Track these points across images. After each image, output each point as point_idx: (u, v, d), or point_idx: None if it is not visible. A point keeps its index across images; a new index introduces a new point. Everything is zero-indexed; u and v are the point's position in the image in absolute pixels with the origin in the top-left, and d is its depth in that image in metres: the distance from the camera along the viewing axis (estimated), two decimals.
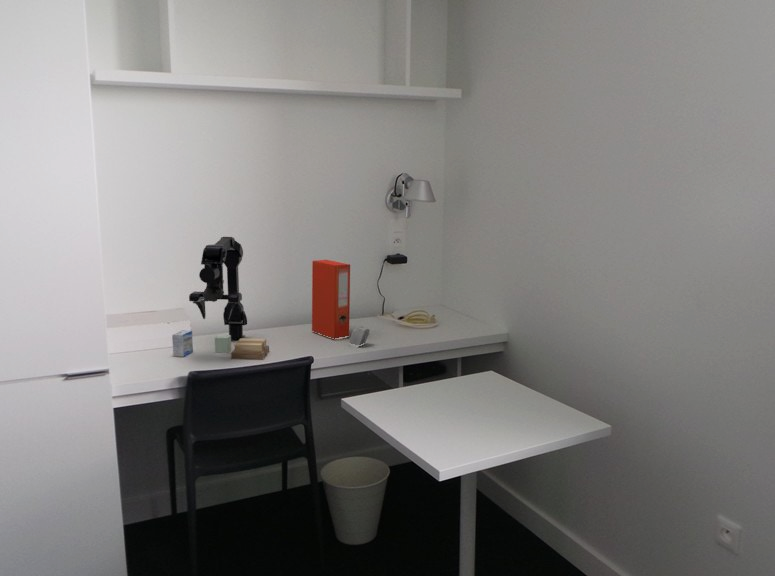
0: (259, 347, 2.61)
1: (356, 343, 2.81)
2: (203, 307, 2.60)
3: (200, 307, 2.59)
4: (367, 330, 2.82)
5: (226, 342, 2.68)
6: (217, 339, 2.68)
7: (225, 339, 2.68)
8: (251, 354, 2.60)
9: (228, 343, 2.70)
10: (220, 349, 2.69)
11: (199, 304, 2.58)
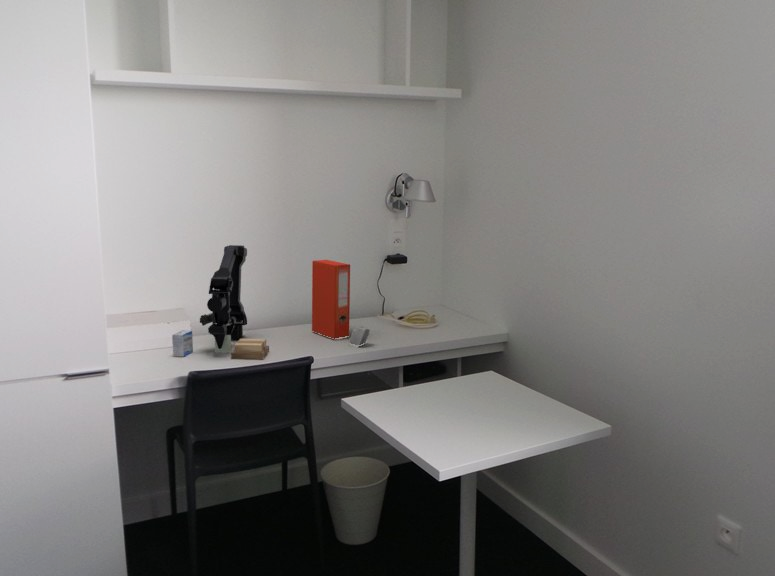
0: (259, 347, 2.60)
1: (356, 343, 2.81)
2: (226, 331, 2.75)
3: None
4: (367, 330, 2.82)
5: (226, 342, 2.68)
6: None
7: (225, 339, 2.68)
8: (251, 354, 2.60)
9: (228, 343, 2.70)
10: (220, 349, 2.69)
11: None
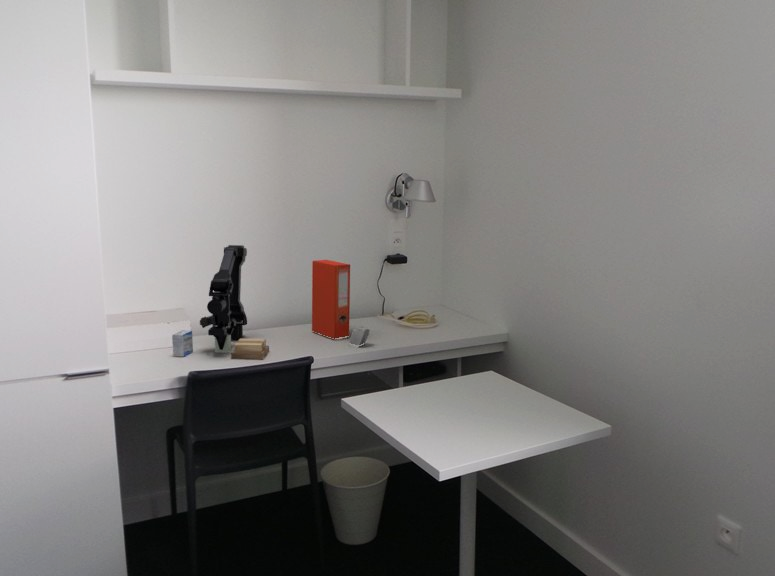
0: (259, 347, 2.61)
1: (356, 343, 2.81)
2: None
3: None
4: (367, 330, 2.82)
5: (226, 342, 2.68)
6: None
7: None
8: (251, 354, 2.60)
9: (228, 343, 2.70)
10: None
11: None
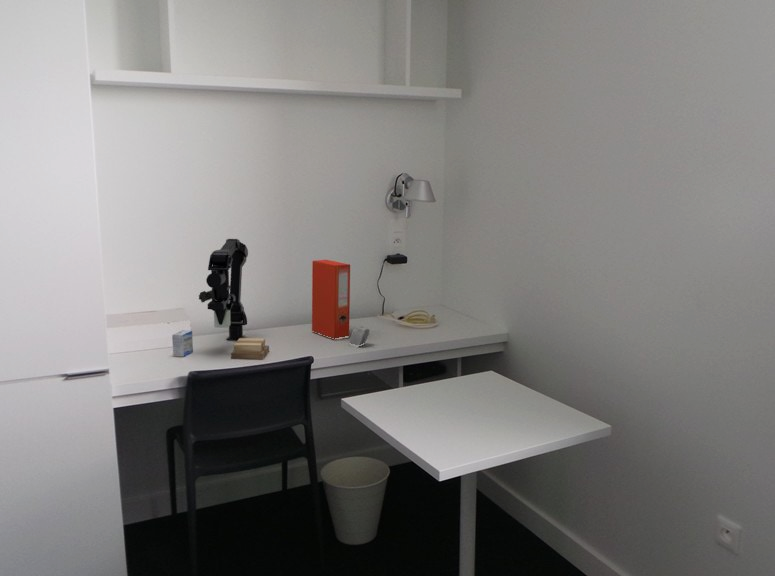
0: (258, 347, 2.61)
1: (356, 343, 2.81)
2: None
3: None
4: (367, 330, 2.82)
5: (225, 317, 2.67)
6: None
7: None
8: (251, 354, 2.60)
9: (227, 318, 2.68)
10: None
11: None
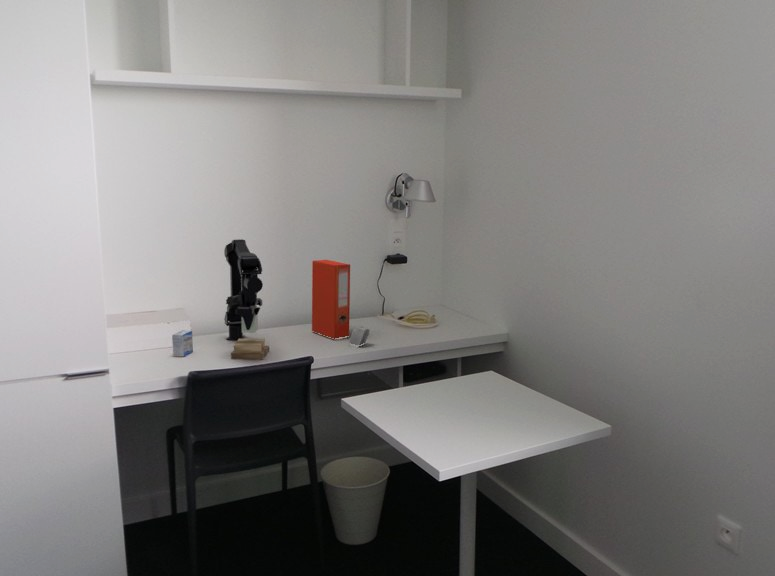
0: (259, 347, 2.61)
1: (356, 343, 2.81)
2: None
3: None
4: (367, 330, 2.82)
5: (253, 322, 2.62)
6: None
7: None
8: (251, 354, 2.60)
9: (255, 323, 2.63)
10: (246, 329, 2.62)
11: None
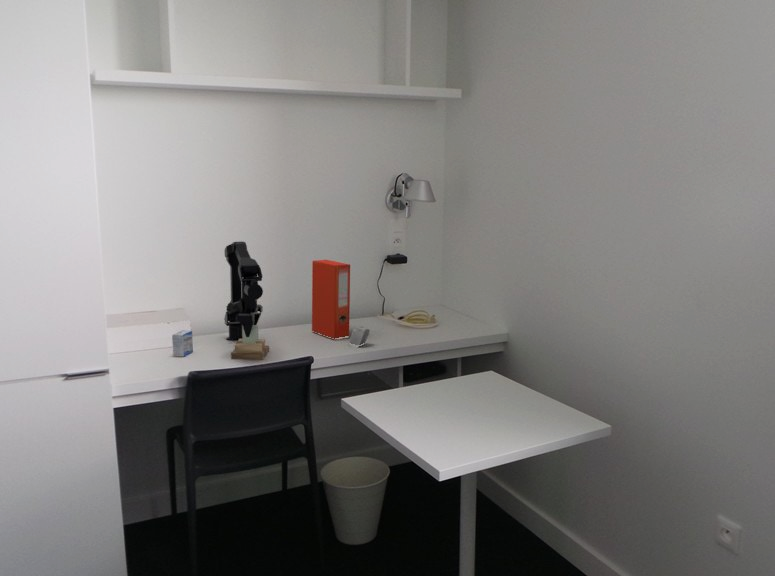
0: (259, 347, 2.61)
1: (356, 343, 2.81)
2: None
3: None
4: (367, 330, 2.82)
5: (254, 332, 2.62)
6: None
7: (253, 329, 2.62)
8: (251, 354, 2.60)
9: (256, 333, 2.64)
10: (247, 340, 2.63)
11: None
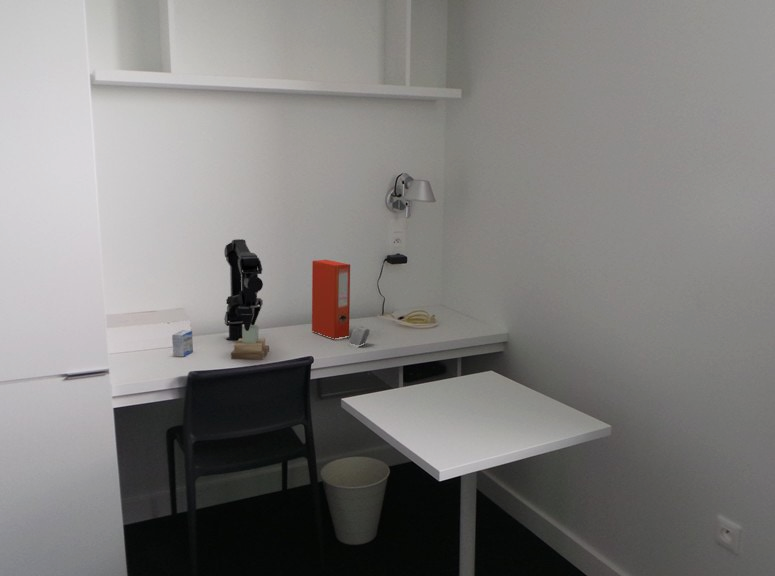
0: (259, 347, 2.61)
1: (356, 343, 2.81)
2: None
3: None
4: (367, 330, 2.82)
5: (254, 332, 2.62)
6: None
7: (253, 329, 2.62)
8: (251, 354, 2.60)
9: (256, 333, 2.64)
10: (247, 340, 2.63)
11: None
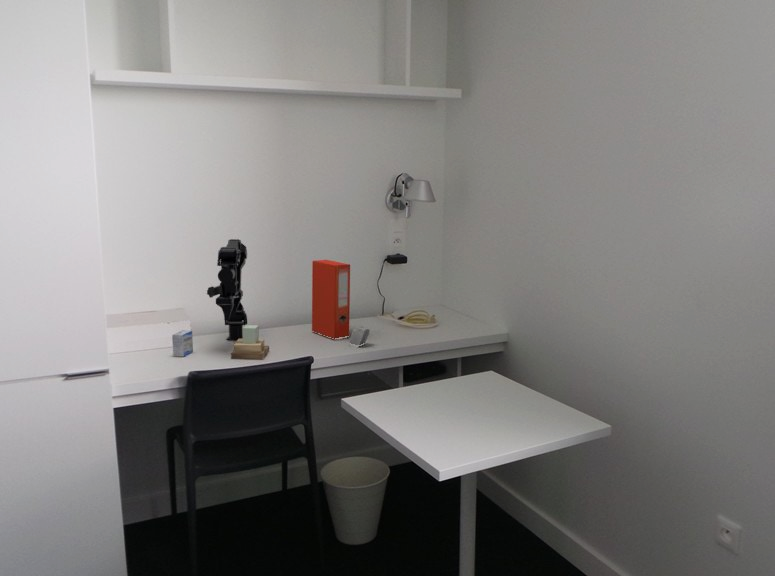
0: (258, 347, 2.61)
1: (356, 343, 2.81)
2: (233, 304, 2.77)
3: None
4: (367, 330, 2.82)
5: (254, 332, 2.62)
6: (245, 329, 2.62)
7: (253, 329, 2.62)
8: (251, 354, 2.60)
9: (256, 334, 2.64)
10: (247, 340, 2.63)
11: None
